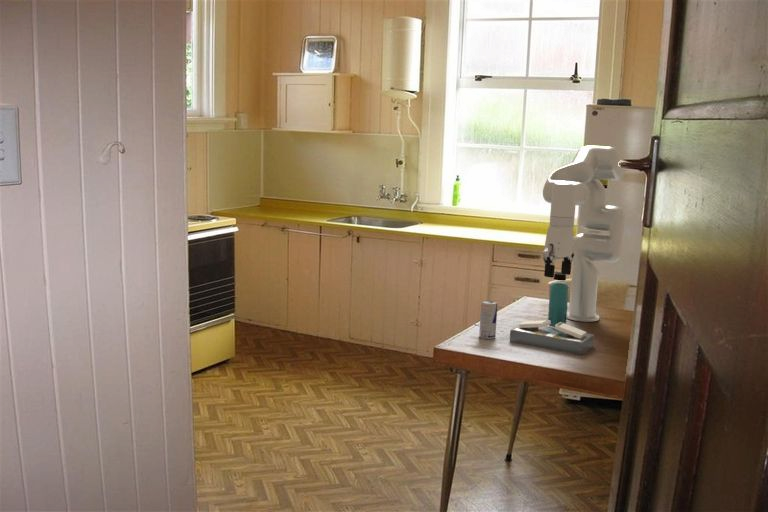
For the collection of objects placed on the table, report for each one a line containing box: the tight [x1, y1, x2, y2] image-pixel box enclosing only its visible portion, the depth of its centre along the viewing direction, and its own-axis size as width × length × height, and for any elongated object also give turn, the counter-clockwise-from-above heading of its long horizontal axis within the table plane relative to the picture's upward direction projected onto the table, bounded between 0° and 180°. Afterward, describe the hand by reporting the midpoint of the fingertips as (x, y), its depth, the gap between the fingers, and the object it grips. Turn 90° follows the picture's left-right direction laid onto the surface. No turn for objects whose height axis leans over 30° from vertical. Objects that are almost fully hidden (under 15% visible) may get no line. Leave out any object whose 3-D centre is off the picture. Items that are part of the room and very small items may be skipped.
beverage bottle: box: [547, 272, 570, 328], centre depth 275 cm, size 6×7×20 cm
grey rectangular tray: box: [509, 324, 595, 356], centre depth 258 cm, size 12×24×5 cm, turn 58°
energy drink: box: [478, 300, 498, 340], centre depth 262 cm, size 5×5×12 cm
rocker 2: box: [553, 322, 587, 339], centre depth 254 cm, size 5×9×1 cm, turn 58°
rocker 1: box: [518, 319, 551, 328], centre depth 260 cm, size 5×9×1 cm, turn 58°
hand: (557, 275), depth 252 cm, fingers open, 9 cm apart
